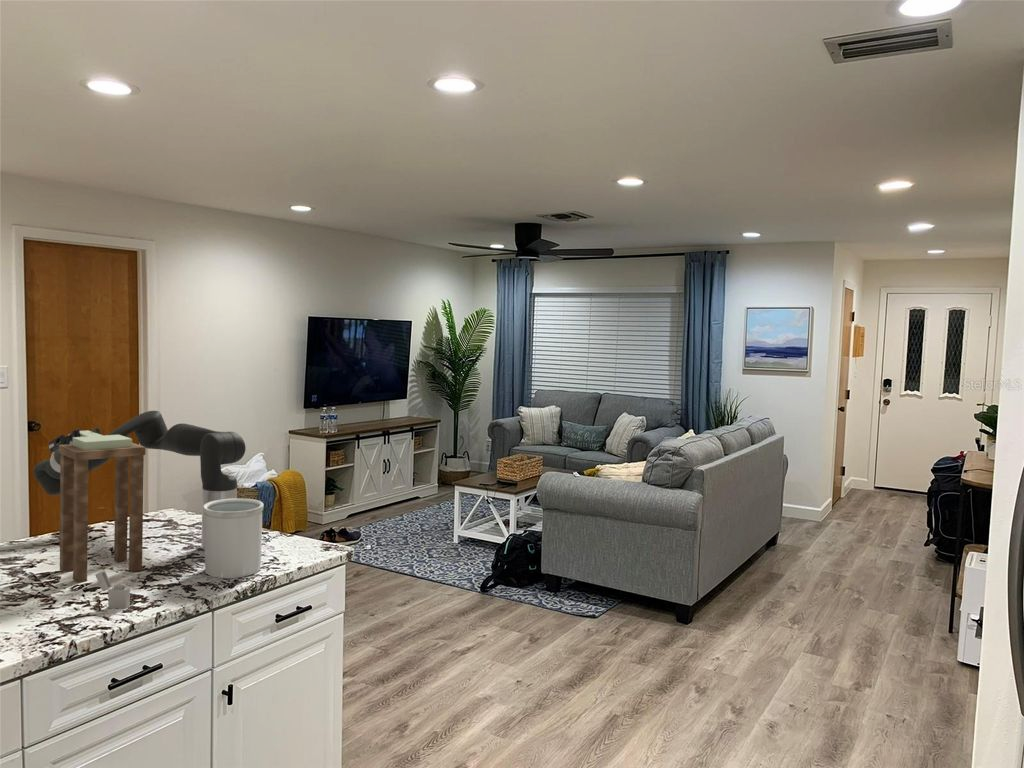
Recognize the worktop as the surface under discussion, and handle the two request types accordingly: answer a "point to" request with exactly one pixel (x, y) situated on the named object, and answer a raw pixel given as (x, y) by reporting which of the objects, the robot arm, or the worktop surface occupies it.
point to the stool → (77, 506)
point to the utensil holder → (232, 537)
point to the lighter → (114, 592)
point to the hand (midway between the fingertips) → (87, 431)
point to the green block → (100, 441)
